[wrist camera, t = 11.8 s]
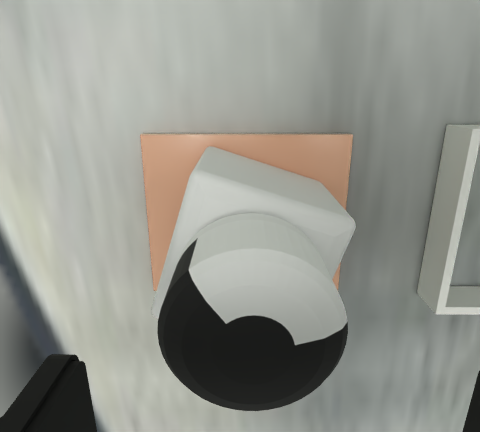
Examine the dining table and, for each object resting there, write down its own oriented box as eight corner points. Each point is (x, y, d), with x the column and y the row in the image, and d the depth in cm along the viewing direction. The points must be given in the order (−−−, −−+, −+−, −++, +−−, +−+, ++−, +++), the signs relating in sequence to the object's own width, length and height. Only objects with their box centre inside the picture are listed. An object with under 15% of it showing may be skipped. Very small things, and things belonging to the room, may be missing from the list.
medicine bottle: (281, 283, 24) (319, 461, 12) (174, 252, 23) (111, 410, 12) (323, 181, 22) (415, 283, 10) (207, 143, 21) (167, 207, 10)
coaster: (350, 133, 21) (353, 134, 21) (335, 286, 24) (337, 290, 24) (142, 133, 21) (140, 134, 21) (155, 286, 25) (153, 290, 24)
